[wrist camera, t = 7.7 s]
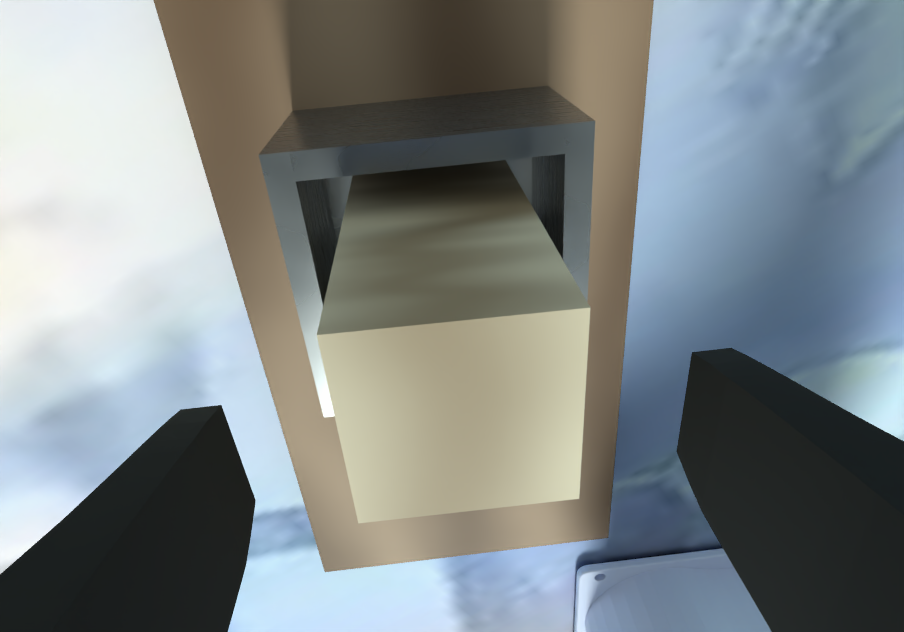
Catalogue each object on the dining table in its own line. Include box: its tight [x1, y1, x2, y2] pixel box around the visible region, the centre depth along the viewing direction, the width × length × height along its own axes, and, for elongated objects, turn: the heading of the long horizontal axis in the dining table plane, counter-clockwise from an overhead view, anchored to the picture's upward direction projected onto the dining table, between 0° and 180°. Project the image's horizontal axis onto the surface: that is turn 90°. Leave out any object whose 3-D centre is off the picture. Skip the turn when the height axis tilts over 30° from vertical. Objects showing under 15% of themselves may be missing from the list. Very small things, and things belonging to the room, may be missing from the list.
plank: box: [154, 0, 654, 572], centre depth 20 cm, size 12×22×1 cm, turn 5°
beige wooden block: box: [317, 160, 590, 523], centre depth 13 cm, size 4×4×8 cm
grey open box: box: [259, 86, 595, 417], centre depth 15 cm, size 7×7×4 cm
